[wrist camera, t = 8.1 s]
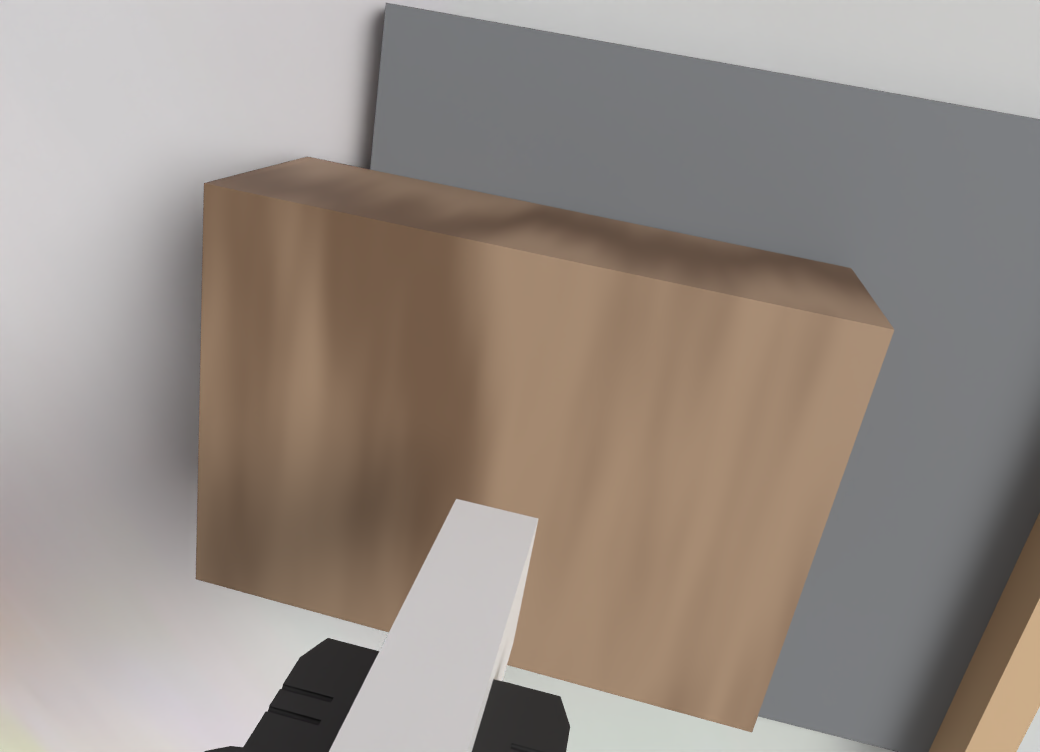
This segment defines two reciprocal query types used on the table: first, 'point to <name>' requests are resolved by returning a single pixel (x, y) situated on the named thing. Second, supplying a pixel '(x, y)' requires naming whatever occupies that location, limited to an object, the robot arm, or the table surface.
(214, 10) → the table surface
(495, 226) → the walnut block
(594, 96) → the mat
